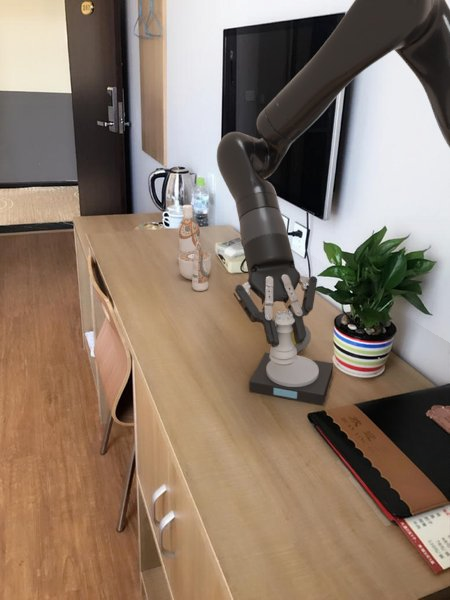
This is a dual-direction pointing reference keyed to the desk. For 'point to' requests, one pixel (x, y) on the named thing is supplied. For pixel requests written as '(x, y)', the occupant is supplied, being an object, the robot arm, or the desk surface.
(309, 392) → the scale
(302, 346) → the pocket watch
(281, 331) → the rook chess piece
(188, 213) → the cosmetic set
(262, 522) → the desk surface
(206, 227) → the desk surface
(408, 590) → the desk surface
